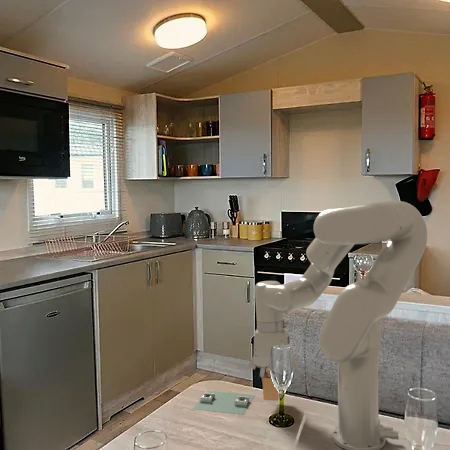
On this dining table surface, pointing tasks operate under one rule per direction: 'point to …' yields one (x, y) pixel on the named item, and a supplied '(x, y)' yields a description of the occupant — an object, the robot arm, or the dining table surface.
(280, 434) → the dining table surface
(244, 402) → the chain ends
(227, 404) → the board
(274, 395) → the wooden block with studs
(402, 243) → the robot arm
